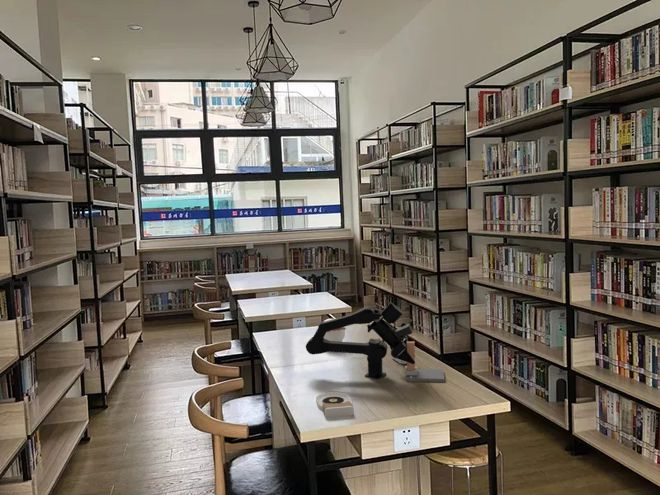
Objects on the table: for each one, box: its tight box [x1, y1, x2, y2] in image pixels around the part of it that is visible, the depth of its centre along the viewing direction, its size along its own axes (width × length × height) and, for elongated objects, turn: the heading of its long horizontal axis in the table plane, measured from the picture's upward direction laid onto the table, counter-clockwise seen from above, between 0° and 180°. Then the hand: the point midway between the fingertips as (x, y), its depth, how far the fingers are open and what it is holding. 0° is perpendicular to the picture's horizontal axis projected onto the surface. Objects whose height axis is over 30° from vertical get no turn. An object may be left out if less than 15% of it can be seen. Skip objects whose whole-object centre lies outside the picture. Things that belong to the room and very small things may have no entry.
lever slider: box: [403, 341, 419, 376], centre depth 209 cm, size 5×7×12 cm
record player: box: [315, 391, 355, 418], centre depth 181 cm, size 12×3×20 cm
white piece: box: [324, 318, 347, 342], centre depth 260 cm, size 14×25×14 cm, turn 15°
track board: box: [405, 368, 445, 383], centre depth 208 cm, size 14×12×1 cm
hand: (414, 359), depth 208 cm, fingers open, 9 cm apart
